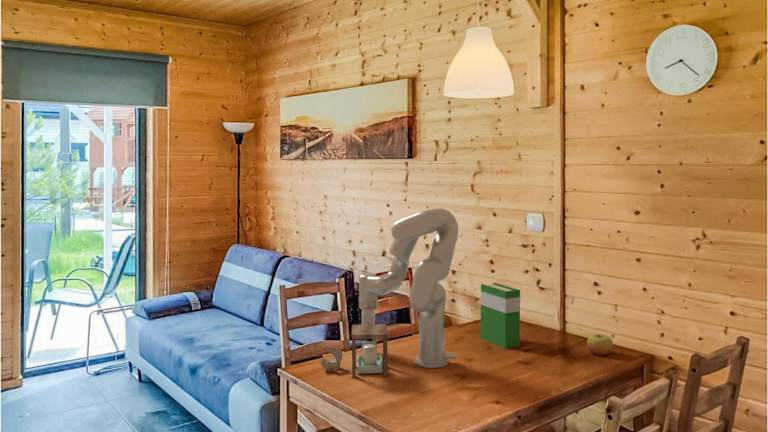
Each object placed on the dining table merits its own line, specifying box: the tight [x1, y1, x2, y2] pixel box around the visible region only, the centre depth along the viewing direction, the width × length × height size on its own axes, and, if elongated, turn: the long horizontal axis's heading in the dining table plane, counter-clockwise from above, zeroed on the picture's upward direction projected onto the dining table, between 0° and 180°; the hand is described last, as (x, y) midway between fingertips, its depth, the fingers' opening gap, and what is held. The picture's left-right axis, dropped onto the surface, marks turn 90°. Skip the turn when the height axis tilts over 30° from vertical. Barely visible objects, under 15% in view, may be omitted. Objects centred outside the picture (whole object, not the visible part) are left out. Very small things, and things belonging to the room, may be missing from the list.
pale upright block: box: [363, 344, 378, 366], centre depth 233 cm, size 5×5×7 cm
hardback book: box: [479, 282, 521, 349], centre depth 265 cm, size 18×7×24 cm, turn 26°
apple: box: [586, 333, 614, 356], centre depth 249 cm, size 10×10×8 cm
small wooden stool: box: [351, 323, 389, 378], centre depth 230 cm, size 13×14×16 cm
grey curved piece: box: [320, 346, 343, 373], centre depth 232 cm, size 9×6×10 cm
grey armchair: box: [356, 340, 384, 374], centre depth 239 cm, size 9×23×5 cm, turn 2°
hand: (369, 348), depth 253 cm, fingers closed
